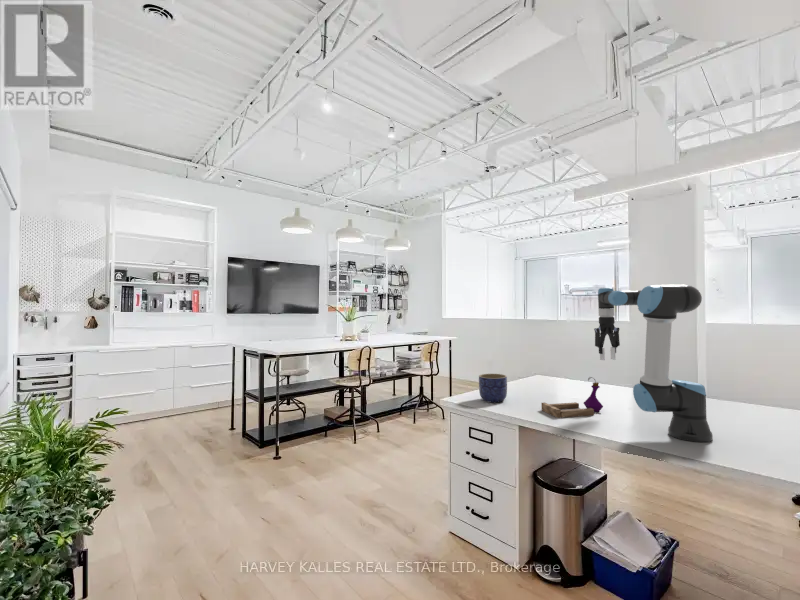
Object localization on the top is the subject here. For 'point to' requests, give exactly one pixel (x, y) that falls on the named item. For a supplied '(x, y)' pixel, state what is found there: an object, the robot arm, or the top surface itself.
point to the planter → (493, 387)
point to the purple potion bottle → (593, 398)
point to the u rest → (566, 410)
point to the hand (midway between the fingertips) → (607, 359)
